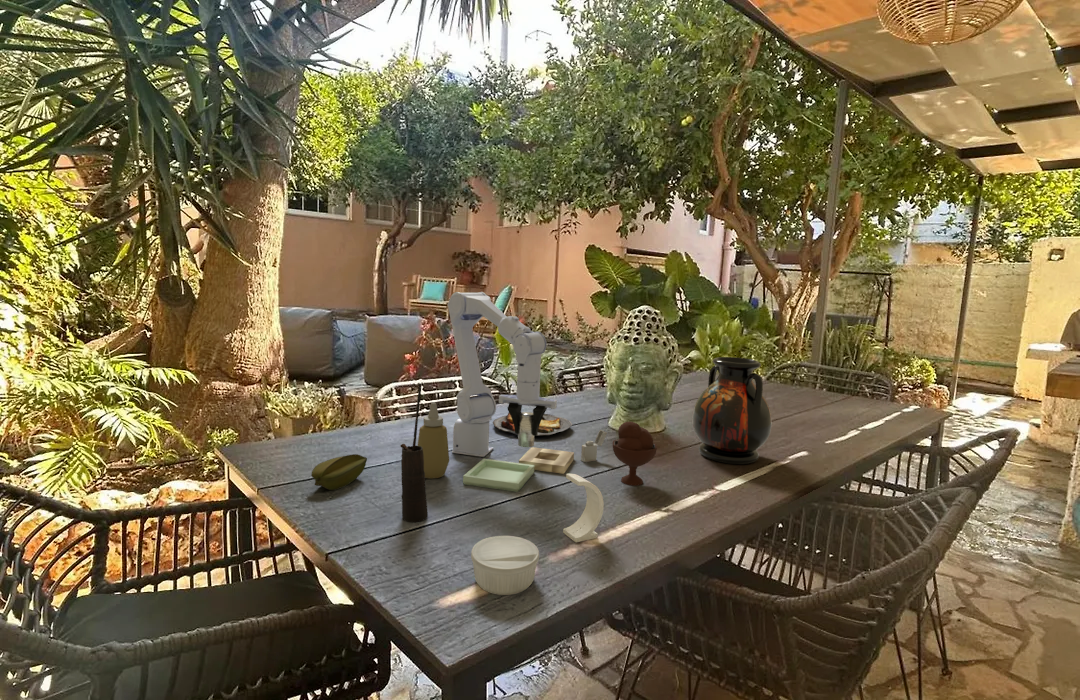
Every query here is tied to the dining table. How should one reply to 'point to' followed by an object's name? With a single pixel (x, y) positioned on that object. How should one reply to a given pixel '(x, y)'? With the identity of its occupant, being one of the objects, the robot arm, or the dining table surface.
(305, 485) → the dining table surface
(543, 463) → the socket block
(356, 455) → the fruit
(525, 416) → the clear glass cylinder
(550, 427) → the food plate
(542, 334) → the robot arm
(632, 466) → the ice cream bowl
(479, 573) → the ramekin
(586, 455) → the lighter
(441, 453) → the squeeze bottle
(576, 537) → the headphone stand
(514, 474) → the tray
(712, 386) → the amphora vase
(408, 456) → the butter churn
